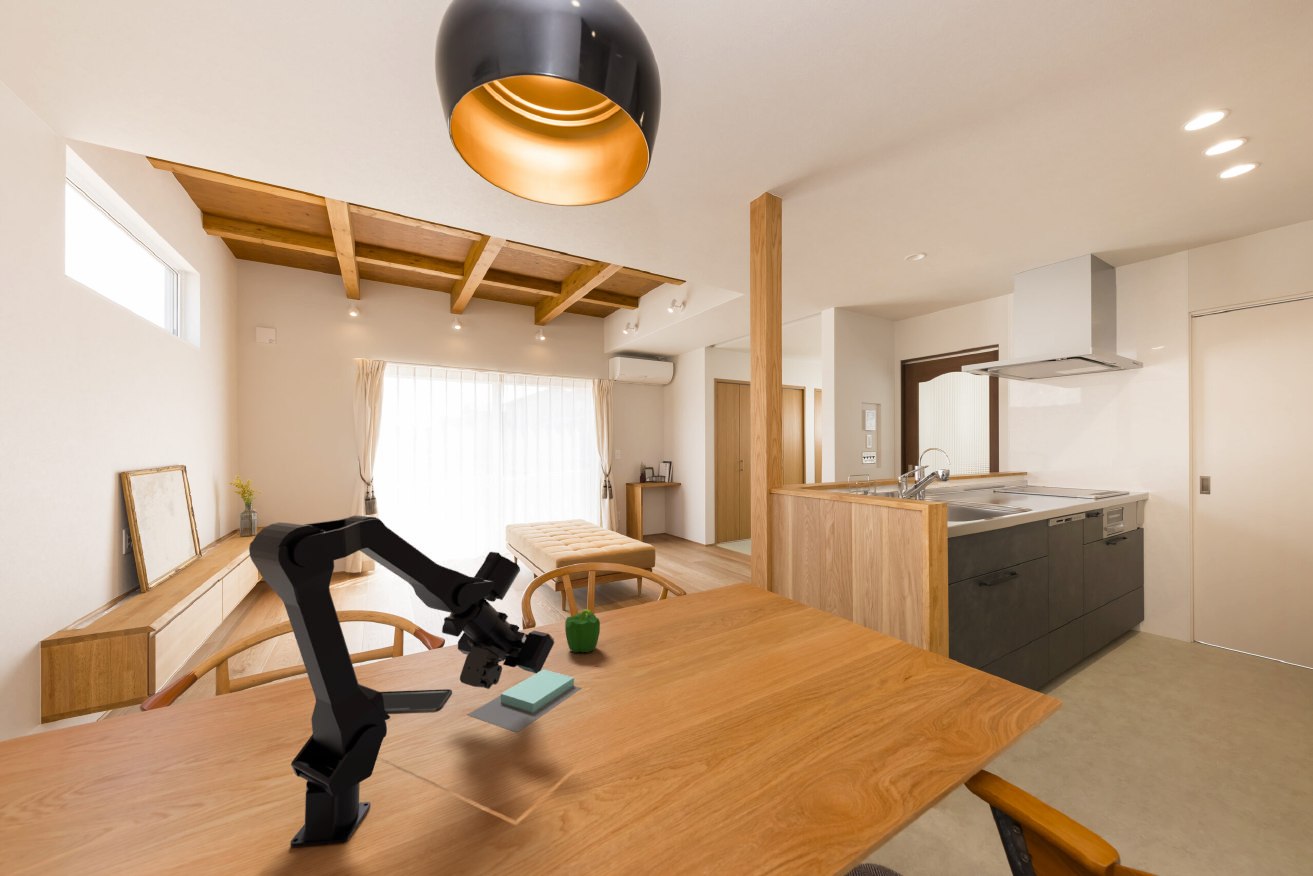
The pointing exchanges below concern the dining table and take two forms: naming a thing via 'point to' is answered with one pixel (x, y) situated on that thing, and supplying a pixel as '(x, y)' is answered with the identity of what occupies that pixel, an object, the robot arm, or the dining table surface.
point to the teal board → (537, 690)
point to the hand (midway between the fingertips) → (526, 665)
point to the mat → (515, 712)
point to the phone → (415, 700)
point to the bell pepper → (582, 631)
